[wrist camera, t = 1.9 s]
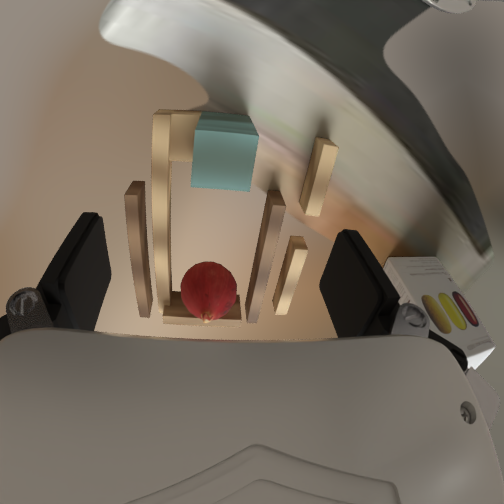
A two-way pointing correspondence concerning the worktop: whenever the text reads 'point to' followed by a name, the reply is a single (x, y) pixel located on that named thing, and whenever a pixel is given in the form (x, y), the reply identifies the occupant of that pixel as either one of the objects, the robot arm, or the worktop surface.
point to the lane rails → (261, 261)
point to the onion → (208, 291)
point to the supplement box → (440, 304)
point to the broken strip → (311, 205)
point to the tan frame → (203, 176)
